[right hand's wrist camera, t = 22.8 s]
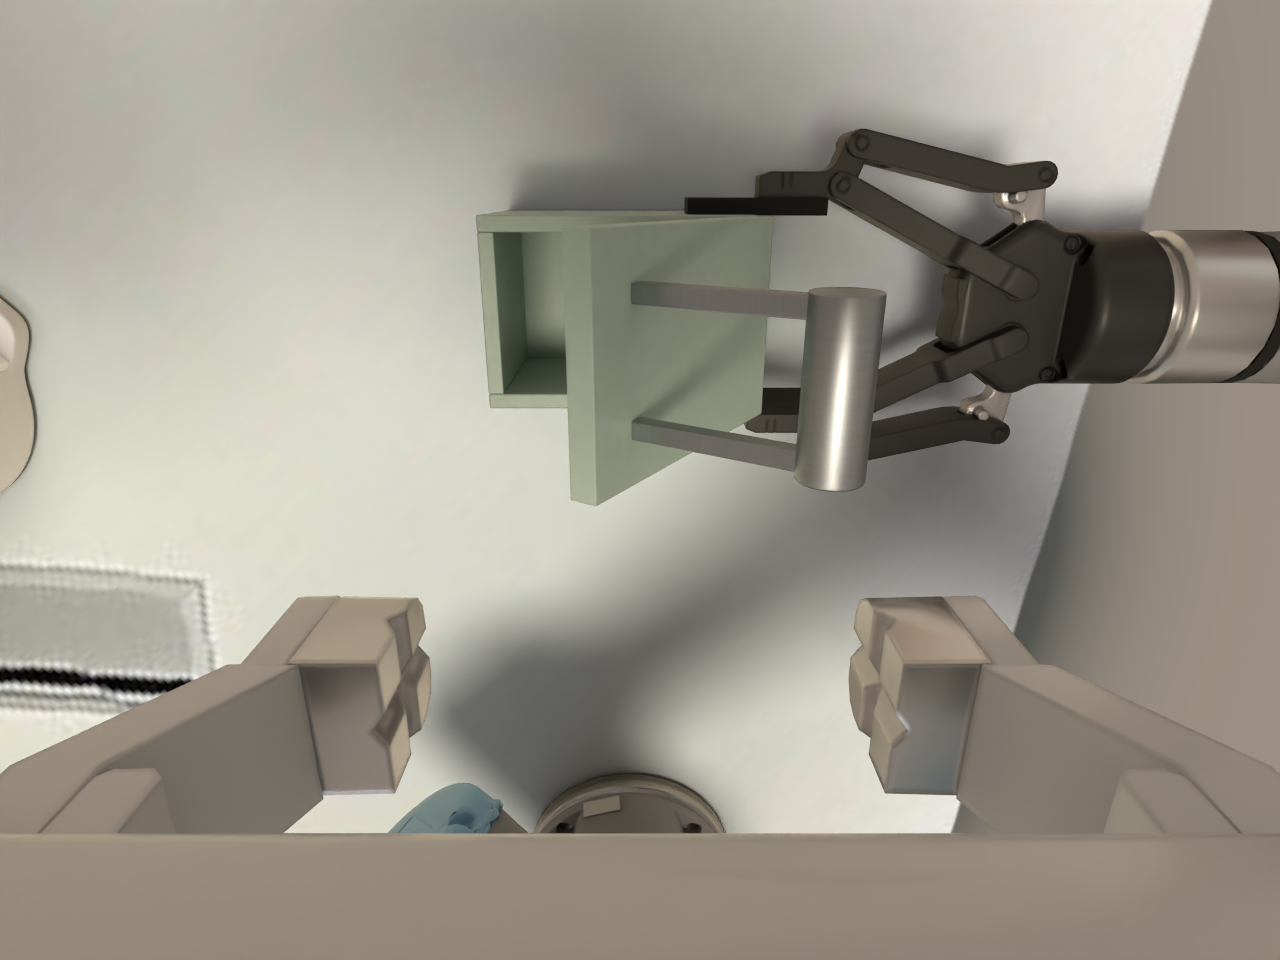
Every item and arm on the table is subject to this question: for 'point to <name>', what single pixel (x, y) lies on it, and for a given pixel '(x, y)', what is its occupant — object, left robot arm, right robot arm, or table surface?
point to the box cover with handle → (705, 355)
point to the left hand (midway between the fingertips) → (684, 308)
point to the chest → (534, 298)
